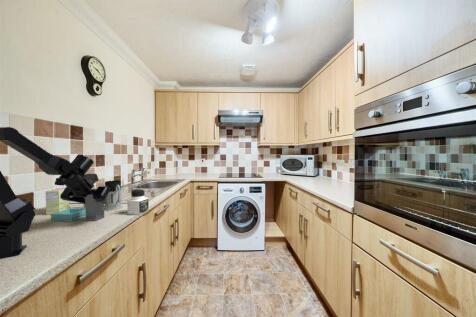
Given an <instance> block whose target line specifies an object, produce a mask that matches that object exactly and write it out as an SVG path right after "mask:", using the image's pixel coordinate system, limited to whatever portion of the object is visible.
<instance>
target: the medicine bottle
mask: <svg viewBox="0 0 476 317" xmlns="http://www.w3.org/2000/svg"><path fill="white" fill-rule="evenodd" d="M145 194H146V191H145V189H143V188H135V189H132V190H131V194H130V195H131V198H130V199H127V202H126V204H127V205H126V206H127V208H126V210H127V215H135V216H140V215H143V214H145V213H147V212H149V211H150V210H149V208H150V207H149V197H145Z"/></svg>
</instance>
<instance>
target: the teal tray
mask: <svg viewBox="0 0 476 317" xmlns="http://www.w3.org/2000/svg"><path fill="white" fill-rule="evenodd" d="M83 217H86V212H85V209H84V208H75V207H73V208H71V207H70V208H69V209H66V210H63V211H60V212H56V213H53V214H50V221H51V222H73V221H75V220H78V219H81V218H83Z"/></svg>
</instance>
